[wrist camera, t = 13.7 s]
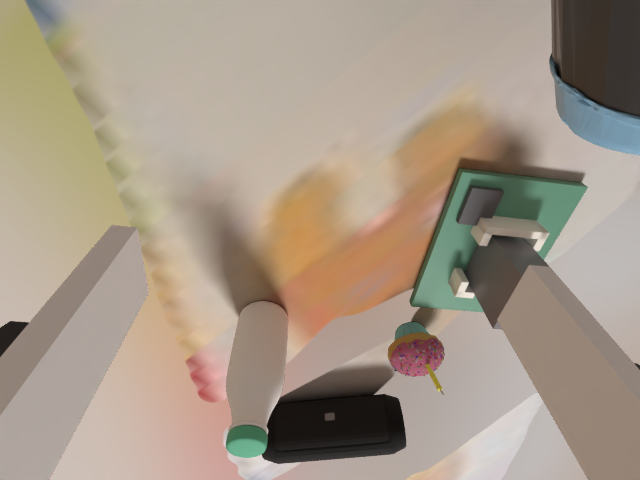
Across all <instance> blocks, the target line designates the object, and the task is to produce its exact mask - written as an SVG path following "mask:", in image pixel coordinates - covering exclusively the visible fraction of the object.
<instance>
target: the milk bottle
mask: <svg viewBox="0 0 640 480" xmlns="http://www.w3.org/2000/svg"><path fill="white" fill-rule="evenodd" d="M287 338H288V316H287V314H286V312H285V310H284V309H283V308H282V307H280V306H279V305H277V304H275V303H272V302H268V301H258V302H253V303H251V304H249V305H247V306H246V307H245V308H244V309H243V310H242V311H241V313H240V316H239V319H238V324H237V328H236V333H235V337H234V342H233V347H232V352H231V356H230V361H229V366H228V372H227V379H226V392H227V397H228V401H229V405H230V408H231V414H232V425H230V427H229V433H228V435H227V441H226V449H227V450H228V451H229V452H230V453H231V454H233V455H235V456H238V457H244V458H250V457H256V456H259V455H261V454H262V453H264V452H265V450H266V447H267V439H268V436H267V434H268V428H267V423H268V420H269V417H270V415H271V413H272V411H273V409H274V407H275V406H276V404H277V402H278V400H279V398H280V396H281V393H282V389H283V385H284V377H285V366H286V354H287Z"/></svg>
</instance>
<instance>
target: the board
mask: <svg viewBox="0 0 640 480" xmlns="http://www.w3.org/2000/svg"><path fill="white" fill-rule="evenodd" d="M587 188H588V187H587V186H586V185H584V184H583V183H579V182H570V181H562V180H554V179H545V178H537V177H529V176H520V175H512V174H504V173H495V172H487V171H479V170H470V169H462V168H459V170H458V173H457V175H456V178H455V181H454V183H453V186H452V189H451V191H450V194H449V197H448V199H447V202H446V205H445V207H444V210H443V213H442V215H441V218H440V221H439V223H438V226H437V229H436V231H435V234H434V237H433V239H432V242H431V245H430V247H429V250H428V253H427V255H426V258H425V261H424V263H423V266H422V269H421V271H420V274H419V277H418V279H417V282H416V285H415V287H414V290H413V293H412V295H411V298H410V304H411V306H413V307H426V308H438V309H450V310H463V311H475V312H484V311H483V309H482V307H481V305H480V304H479V302H478V300H477V298H476V296H475V294H474V293H473V291H472V289H471V287H470V285H469V281H468V280H467V278H466V276H465V274H464V273H465V271H466V268H467V266H468V264H469V262H470V260H471V258H472V256H473V253H474V251H475V249H476V247H477V245H480V246H487V245H488V242H489V240H490V238H491V236H492V235H502V236H511V237H521V238H525V239H526V241H527V242H528V243H529V244H530V245H531V246H532V247H533V249H534V250H535V251H536V252H537V253H538V254H539V255H540V257H541V258H542V259H543V260H544V259H545V257H546V255H547V254H548V252H549V250H550V249H551V247H552V246H553V244H554V242H555V241H556V239H557V237H558V236H559V234H560V232H561V231H562V229H563V227H564V226H565V224H566V223H567V221H568V219H569V218H570V216H571V214H572V213H573V211H574V209H575V208H576V206H577V204H578V203H579V201H580V199H581V198H582V196H583V195H584V193H585V191H586V190H587Z"/></svg>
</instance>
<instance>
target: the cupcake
mask: <svg viewBox="0 0 640 480" xmlns="http://www.w3.org/2000/svg"><path fill="white" fill-rule="evenodd" d="M444 355H445V354H444V348H443V345H442V343H441V342H440V341H439V340H438V339H437V337H436V336H433V335H430V334H429V333H428V332H427V331H426V330H425V328H424V327H423V326H422V325H421V324H419V323H416V322H408V323H405V324H402V325H401V326H399V327H398V328H397V330H396V333H395V341H394V342H393V343H392V344H391V345H390V346H389V348H388V359H389V361H390V363H391V365H392V366H393V367H394V368H395V369H396V370H395V371H398V372H400V373H401V374H405V376H407V375H408V376H425V375H426V374H430V376H431V378H432V380H433V382H434V384H435V386H436V388H437V390H438V391H441V393H442V394H443V395H444V393H443V392H442V387H441V385H440V384H439V382H438V380H437V378H436V376H435V374H434V371H435V370H436V369H437V367H439V365H440V364H441V362H442V360H443V359H444Z"/></svg>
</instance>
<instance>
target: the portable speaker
mask: <svg viewBox="0 0 640 480" xmlns="http://www.w3.org/2000/svg"><path fill="white" fill-rule="evenodd" d="M267 428H268V434H267V436H268V439H267V447H266V450H265V452H264V453H262V457H263V458H264V459H265V460H268V461H271V462H274V463H277V464H282V463H294V462H306V461H318V460H330V459H342V458H354V457H365V456H377V455H389V454H394V453H396V452H398V451H400V450H402V449H403V448H405V447H406V435H405V427H404V421H403V415H402V410H401V406H400V402H399V400H398V398H396V397H392V396H388V395H385V394H382V395H370V396H359V397H348V398H337V399H327V400H316V401H305V402H294V403H283V404H276V406H275V407H274V409H273V411H272V413H271V415H270V417H269V420H268V423H267Z"/></svg>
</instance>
